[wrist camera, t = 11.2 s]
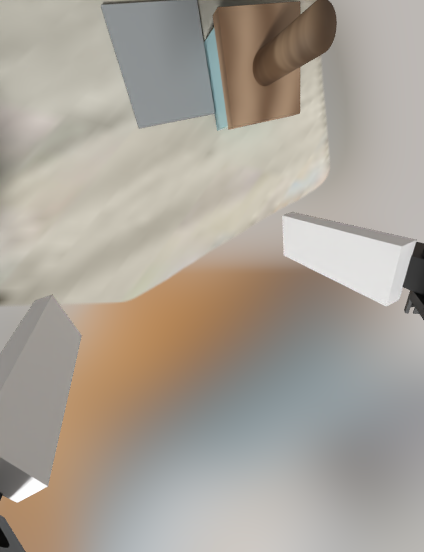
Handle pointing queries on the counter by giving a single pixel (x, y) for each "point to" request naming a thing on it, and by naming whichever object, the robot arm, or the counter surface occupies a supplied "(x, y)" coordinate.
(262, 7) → the lid
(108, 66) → the counter surface
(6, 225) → the counter surface
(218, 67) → the dish
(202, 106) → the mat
